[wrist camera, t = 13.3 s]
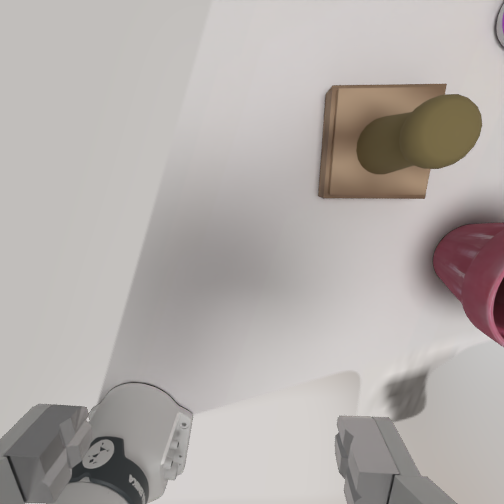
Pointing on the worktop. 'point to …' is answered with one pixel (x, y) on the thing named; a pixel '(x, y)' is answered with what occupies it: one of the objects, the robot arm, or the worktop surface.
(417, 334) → the worktop surface
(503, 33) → the supplement bottle
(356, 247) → the worktop surface
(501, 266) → the plant pot
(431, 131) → the cork
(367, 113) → the walnut stand
